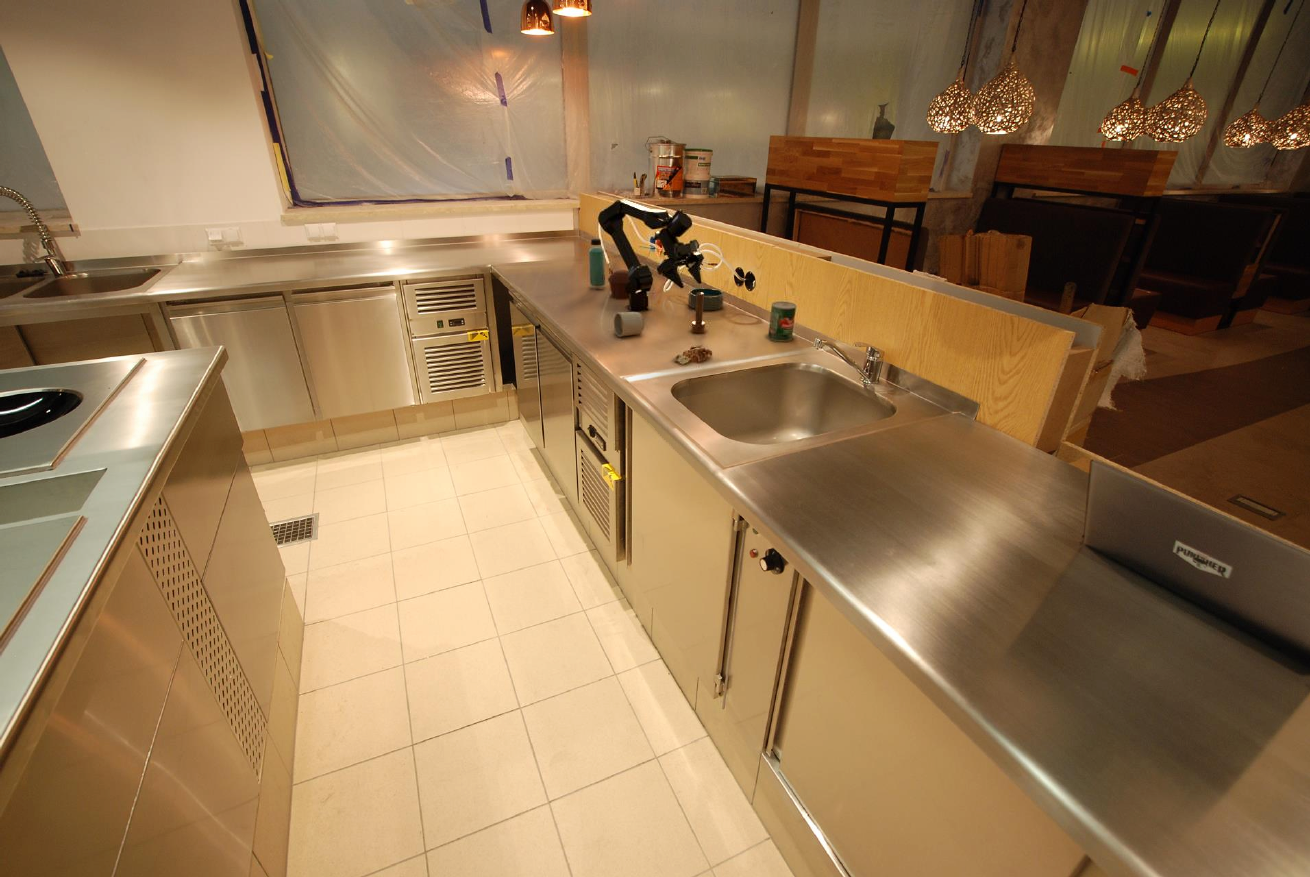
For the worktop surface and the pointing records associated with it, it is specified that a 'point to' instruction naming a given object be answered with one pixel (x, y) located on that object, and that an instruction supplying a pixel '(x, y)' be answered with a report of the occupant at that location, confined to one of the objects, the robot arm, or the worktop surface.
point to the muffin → (619, 284)
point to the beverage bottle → (596, 264)
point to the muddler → (699, 315)
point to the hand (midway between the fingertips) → (691, 285)
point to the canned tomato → (782, 321)
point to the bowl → (707, 298)
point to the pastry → (694, 354)
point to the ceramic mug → (628, 323)
